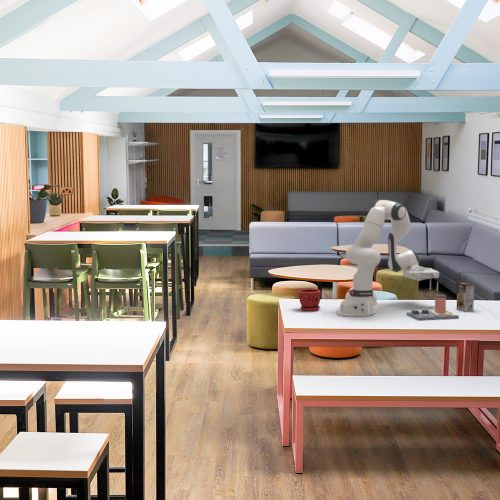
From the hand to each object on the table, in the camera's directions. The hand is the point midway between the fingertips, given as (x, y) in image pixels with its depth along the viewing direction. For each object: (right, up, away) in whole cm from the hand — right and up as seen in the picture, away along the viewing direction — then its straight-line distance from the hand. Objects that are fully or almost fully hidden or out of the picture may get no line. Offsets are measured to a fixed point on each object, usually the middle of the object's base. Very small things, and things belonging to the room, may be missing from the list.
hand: (427, 276), depth 460 cm
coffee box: (+23, -20, +1) cm, 31 cm away
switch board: (-1, -22, -18) cm, 29 cm away
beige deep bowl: (-35, -18, +27) cm, 48 cm away
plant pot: (-69, -21, +7) cm, 72 cm away
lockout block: (+4, -20, -14) cm, 25 cm away
